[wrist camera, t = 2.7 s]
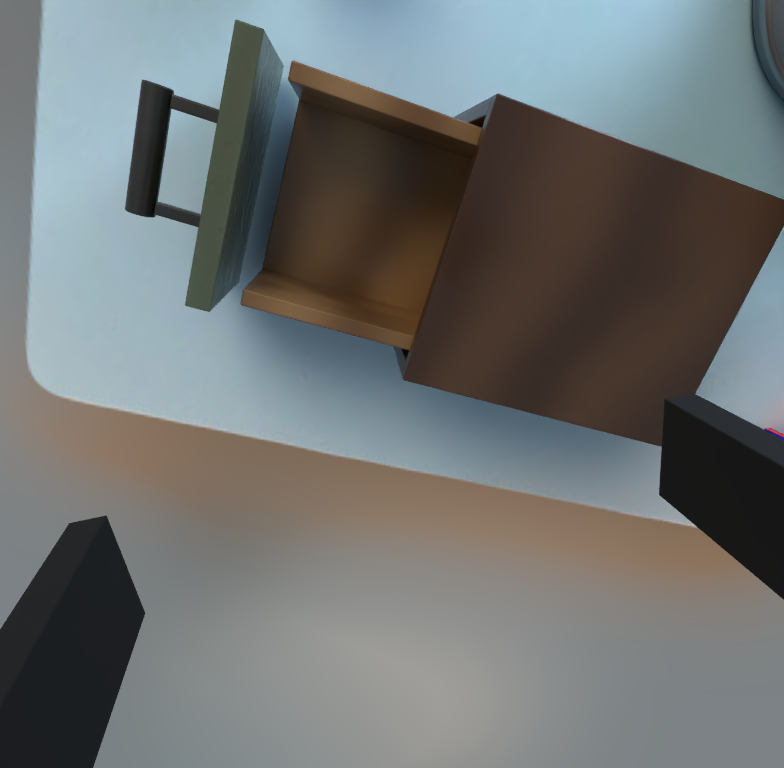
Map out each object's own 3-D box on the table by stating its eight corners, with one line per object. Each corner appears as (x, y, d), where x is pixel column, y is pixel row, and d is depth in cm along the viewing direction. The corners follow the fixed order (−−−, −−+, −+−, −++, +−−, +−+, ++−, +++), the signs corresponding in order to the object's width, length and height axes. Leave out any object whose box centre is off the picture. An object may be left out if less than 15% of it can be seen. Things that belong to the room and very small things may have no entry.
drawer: (149, 257, 33) (93, 281, 25) (183, 29, 29) (128, -21, 21) (439, 338, 36) (463, 379, 29) (506, 143, 32) (553, 134, 25)
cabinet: (388, 329, 36) (402, 380, 27) (454, 116, 32) (497, 92, 23) (593, 386, 39) (666, 448, 30) (679, 196, 35) (796, 203, 26)
